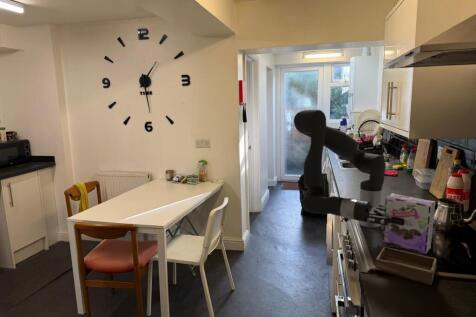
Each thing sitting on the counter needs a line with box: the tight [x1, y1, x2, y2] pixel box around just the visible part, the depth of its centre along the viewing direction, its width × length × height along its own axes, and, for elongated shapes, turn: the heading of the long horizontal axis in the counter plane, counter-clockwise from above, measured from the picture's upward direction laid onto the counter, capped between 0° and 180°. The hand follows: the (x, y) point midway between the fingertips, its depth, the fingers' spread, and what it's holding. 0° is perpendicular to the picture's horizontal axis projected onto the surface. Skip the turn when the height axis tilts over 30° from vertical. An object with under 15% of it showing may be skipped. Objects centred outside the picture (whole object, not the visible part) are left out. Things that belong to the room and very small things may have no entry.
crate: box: [375, 246, 437, 286], centre depth 111 cm, size 11×17×4 cm, turn 53°
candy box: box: [382, 192, 436, 255], centre depth 108 cm, size 14×6×16 cm, turn 45°
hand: (406, 218), depth 108 cm, fingers closed on candy box, 6 cm apart
